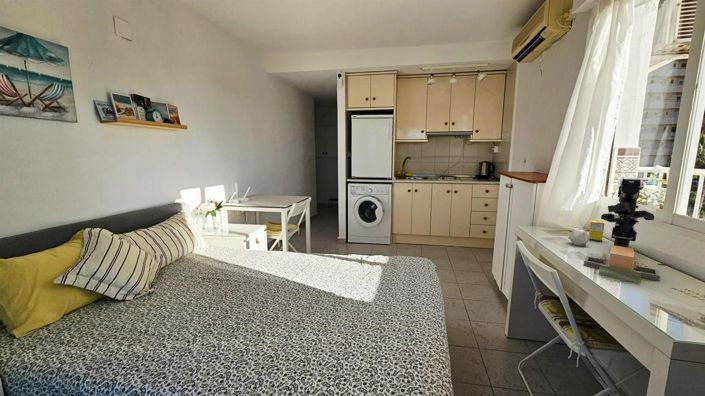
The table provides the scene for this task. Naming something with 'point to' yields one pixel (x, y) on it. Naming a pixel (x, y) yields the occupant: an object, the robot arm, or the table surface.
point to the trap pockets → (645, 271)
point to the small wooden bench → (620, 271)
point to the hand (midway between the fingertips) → (623, 234)
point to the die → (579, 237)
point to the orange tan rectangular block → (621, 257)
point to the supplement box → (596, 230)
